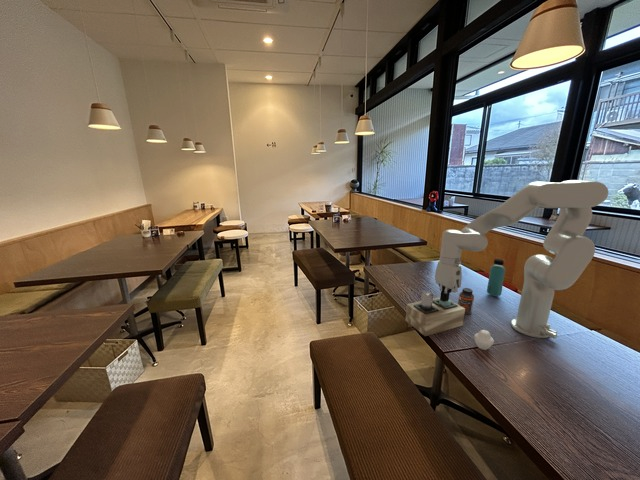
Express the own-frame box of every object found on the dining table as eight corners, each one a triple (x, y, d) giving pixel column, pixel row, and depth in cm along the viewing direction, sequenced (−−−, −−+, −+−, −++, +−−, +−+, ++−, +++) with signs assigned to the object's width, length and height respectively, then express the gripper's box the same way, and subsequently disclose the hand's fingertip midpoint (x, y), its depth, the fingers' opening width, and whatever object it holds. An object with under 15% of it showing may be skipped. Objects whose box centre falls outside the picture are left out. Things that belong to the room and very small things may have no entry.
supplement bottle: (456, 313, 119) (460, 290, 116) (457, 307, 124) (460, 285, 121) (471, 316, 116) (475, 293, 113) (471, 310, 121) (474, 288, 118)
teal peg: (450, 318, 111) (453, 301, 109) (443, 320, 110) (445, 303, 108) (443, 313, 115) (444, 297, 113) (435, 315, 114) (437, 299, 112)
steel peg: (433, 313, 107) (435, 295, 105) (425, 315, 105) (427, 297, 103) (426, 308, 111) (427, 291, 109) (417, 310, 109) (419, 292, 107)
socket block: (462, 325, 109) (465, 307, 107) (425, 336, 103) (427, 317, 100) (440, 311, 120) (442, 294, 118) (405, 320, 113) (406, 303, 111)
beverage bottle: (503, 297, 133) (510, 260, 127) (494, 299, 130) (501, 262, 125) (491, 292, 138) (497, 256, 133) (482, 294, 136) (488, 258, 131)
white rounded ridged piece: (470, 346, 96) (472, 330, 94) (476, 339, 100) (479, 323, 98) (488, 355, 92) (491, 338, 90) (494, 347, 95) (497, 331, 94)
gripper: (472, 264, 100) (465, 307, 105) (442, 253, 114) (437, 291, 119) (457, 267, 98) (451, 310, 103) (429, 255, 111) (424, 294, 116)
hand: (444, 300), depth 111 cm, fingers closed
